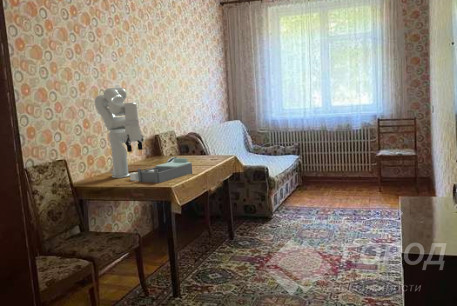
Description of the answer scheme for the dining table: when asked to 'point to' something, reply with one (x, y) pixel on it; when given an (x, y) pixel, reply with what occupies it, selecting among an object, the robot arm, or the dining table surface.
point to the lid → (175, 163)
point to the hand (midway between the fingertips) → (135, 150)
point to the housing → (163, 173)
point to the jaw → (134, 176)
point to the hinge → (171, 159)
